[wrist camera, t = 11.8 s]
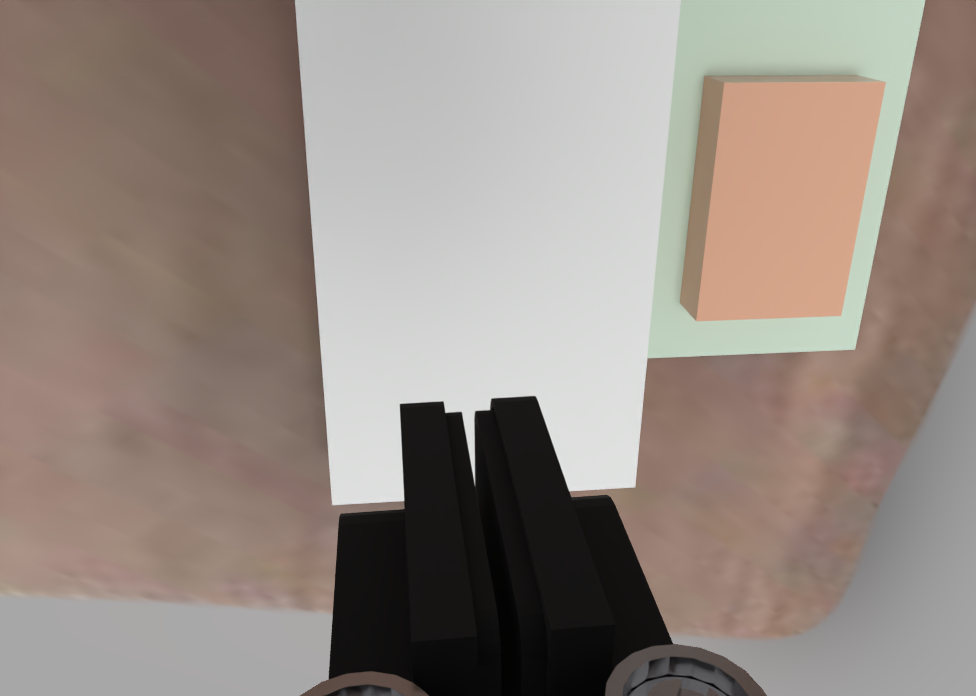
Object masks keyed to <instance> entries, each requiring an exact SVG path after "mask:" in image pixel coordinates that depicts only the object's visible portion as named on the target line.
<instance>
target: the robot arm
mask: <svg viewBox="0 0 976 696" xmlns="http://www.w3.org/2000/svg"><path fill="white" fill-rule="evenodd" d="M400 422H401V443H402V464H403V484H404V505H405V509H402V510H388V511H374V512H360V513H346V514H340V517H339V528H338V543H337V559H336V574H335V590H334V605H333V622H332V636H331V637H332V638H331V651H330V667H329V680H326V681H323V682H321V683H320V684H318V685H316V686H315V687H313V688H312V689H310V690H308V691H307V692H305V693H304V694H302V695H300V696H767V695H766V694H765V692H764V691H763V689H762V688H761V687H760V686H759V685H758V684H757V683H756V682H755V681H754V680H753V678H752V677H751V676H749V674H748V673H747V672H746V671H745V670H743V669H742V668H740V667H739V666H737V665H736V664H734V663H733V662H731V661H730V660H728V659H727V658H725V657H723V656H720V655H718V654H715V653H713V652H710V651H707V650H704V649H702V648H698V647H691V646H684V645H677V644H673V643H672V641H671V638H670V636H669V633H668V631H667V628H666V626H665V624H664V621H663V619H662V616H661V614H660V612H659V609H658V607H657V604H656V602H655V600H654V597H653V595H652V592H651V590H650V588H649V585H648V583H647V580H646V578H645V576H644V573H643V571H642V569H641V566H640V564H639V561H638V559H637V557H636V554H635V552H634V549H633V547H632V545H631V542H630V540H629V537H628V535H627V533H626V530H625V528H624V525H623V523H622V521H621V518H620V516H619V513H618V511H617V509H616V506H615V504H614V502H613V501H612V499H611V497H609V496H608V495H599V496H585V497H571V495H570V492H569V489H568V487H567V484H566V481H565V478H564V475H563V472H562V469H561V466H560V463H559V461H558V458H557V455H556V452H555V449H554V446H553V443H552V440H551V437H550V434H549V432H548V429H547V426H546V423H545V420H544V417H543V414H542V411H541V408H540V406H539V403H538V400H537V398H536V396H524V397H507V398H492V399H491V403H490V410H482V411H475V416H474V435H475V483H474V478H473V472H472V466H471V461H470V455H469V449H468V444H467V438H466V433H465V427H464V421H463V416H462V412H448V413H445V407H444V401H438V402H421V403H404V404H400Z"/></svg>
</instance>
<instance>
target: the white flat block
mask: <svg viewBox="0 0 976 696" xmlns="http://www.w3.org/2000/svg"><path fill="white" fill-rule="evenodd" d="M680 6H681V0H295V7H296V21H297V34H298V48H299V61H300V75H301V88H302V102H303V115H304V129H305V142H306V156H307V170H308V183H309V197H310V210H311V224H312V237H313V251H314V264H315V278H316V291H317V305H318V318H319V332H320V345H321V359H322V372H323V386H324V399H325V413H326V426H327V440H328V453H329V467H330V480H331V494H332V505H343V504H360V503H377V502H394V501H404V484H403V464H402V443H401V422H400V404H404V403H421V402H438V401H444V407H445V413H448V412H462V416H463V421H464V427H465V433H466V438H467V444H468V449H469V455H470V461H471V466H472V472H473V478H474V483H475V435H474V416H475V411H482V410H490V403H491V399H492V398H507V397H524V396H536V398H537V400H538V403H539V406H540V408H541V411H542V414H543V417H544V420H545V423H546V426H547V429H548V432H549V434H550V437H551V440H552V443H553V446H554V449H555V452H556V455H557V458H558V461H559V463H560V466H561V469H562V472H563V475H564V478H565V481H566V484H567V487H568V489H569V491H580V490H597V489H614V488H631V487H635V482H636V471H637V461H638V450H639V440H640V429H641V418H642V408H643V397H644V387H645V376H646V366H647V355H648V344H649V334H650V323H651V313H652V302H653V291H654V281H655V270H656V260H657V249H658V239H659V228H660V217H661V207H662V196H663V186H664V175H665V165H666V154H667V143H668V133H669V122H670V112H671V101H672V91H673V80H674V69H675V59H676V48H677V38H678V27H679V17H680Z"/></svg>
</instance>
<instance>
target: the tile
mask: <svg viewBox="0 0 976 696" xmlns="http://www.w3.org/2000/svg"><path fill="white" fill-rule="evenodd" d="M885 84H886V82H884V81H880V80H876V79H872V78H868V77H863V76H859V75H746V76H704V84H703V93H702V102H701V112H700V121H699V130H698V139H697V149H696V158H695V167H694V176H693V186H692V195H691V204H690V213H689V223H688V232H687V241H686V250H685V259H684V269H683V278H682V287H681V296H680V304H681V305H682V306H683V307H684V308H685V309H686V311H687V312H688V313H689V314H690V315H691V316H692V317H693V318H694V319H695V321H720V320H747V319H773V318H800V317H827V316H841V315H842V310H843V304H844V299H845V294H846V289H847V283H848V278H849V273H850V268H851V262H852V257H853V252H854V247H855V241H856V236H857V231H858V226H859V220H860V215H861V210H862V205H863V200H864V194H865V189H866V184H867V179H868V173H869V168H870V163H871V158H872V152H873V147H874V142H875V137H876V131H877V126H878V121H879V116H880V110H881V105H882V100H883V95H884V89H885Z"/></svg>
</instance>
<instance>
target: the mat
mask: <svg viewBox="0 0 976 696" xmlns="http://www.w3.org/2000/svg"><path fill="white" fill-rule="evenodd" d="M924 4H925V0H681V6H680V17H679V27H678V38H677V48H676V59H675V69H674V80H673V91H672V101H671V112H670V122H669V133H668V143H667V154H666V165H665V175H664V186H663V196H662V207H661V217H660V228H659V239H658V249H657V260H656V270H655V281H654V291H653V302H652V313H651V323H650V334H649V344H648V355H647V358H664V357H688V356H712V355H736V354H760V353H784V352H808V351H832V350H855V347H856V342H857V337H858V332H859V327H860V322H861V317H862V312H863V307H864V302H865V297H866V292H867V288H868V283H869V278H870V273H871V268H872V263H873V258H874V253H875V248H876V243H877V238H878V233H879V228H880V223H881V218H882V213H883V208H884V203H885V198H886V193H887V188H888V183H889V178H890V173H891V168H892V163H893V158H894V153H895V148H896V143H897V138H898V133H899V128H900V124H901V119H902V114H903V109H904V104H905V99H906V94H907V89H908V84H909V79H910V74H911V69H912V64H913V59H914V54H915V49H916V44H917V39H918V34H919V29H920V24H921V19H922V14H923V9H924ZM746 75H859V76H863V77H868V78H872V79H876V80H880V81H884V82H886V84H885V89H884V95H883V100H882V105H881V110H880V116H879V121H878V126H877V131H876V137H875V142H874V147H873V152H872V158H871V163H870V168H869V173H868V179H867V184H866V189H865V194H864V200H863V205H862V210H861V215H860V220H859V226H858V231H857V236H856V241H855V247H854V252H853V257H852V262H851V268H850V273H849V278H848V283H847V289H846V294H845V299H844V304H843V310H842V315H841V316H827V317H800V318H773V319H747V320H720V321H695V319H694V318H693V317H692V316H691V315H690V314H689V313H688V312H687V311H686V309H685V308H684V307H683V306H682V305H681V304H680V296H681V287H682V278H683V269H684V259H685V250H686V241H687V232H688V223H689V213H690V204H691V195H692V186H693V176H694V167H695V158H696V149H697V139H698V130H699V121H700V112H701V102H702V93H703V84H704V76H746Z"/></svg>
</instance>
